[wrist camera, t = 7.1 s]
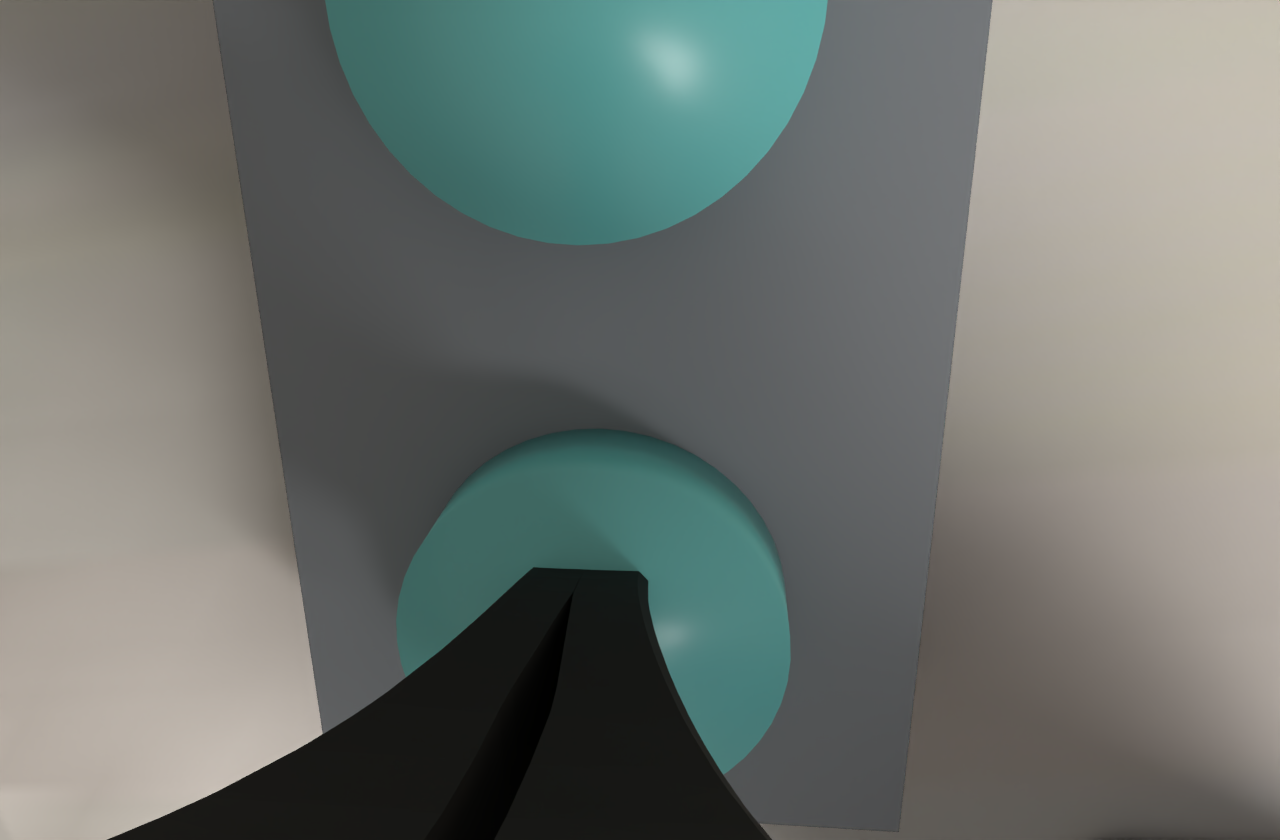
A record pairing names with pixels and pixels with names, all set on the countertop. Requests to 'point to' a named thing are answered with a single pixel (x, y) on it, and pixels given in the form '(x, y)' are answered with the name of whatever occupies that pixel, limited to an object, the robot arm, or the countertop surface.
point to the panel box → (634, 360)
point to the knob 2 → (620, 565)
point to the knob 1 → (578, 102)
